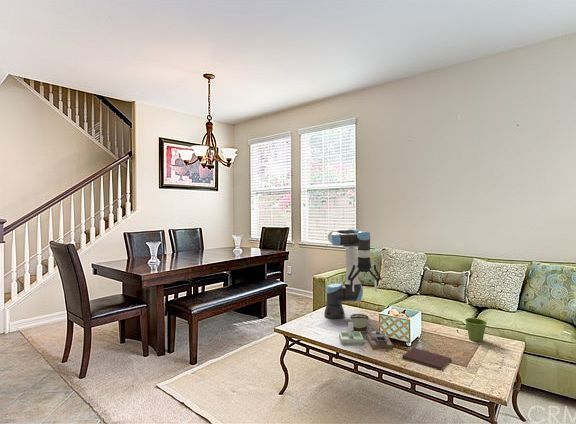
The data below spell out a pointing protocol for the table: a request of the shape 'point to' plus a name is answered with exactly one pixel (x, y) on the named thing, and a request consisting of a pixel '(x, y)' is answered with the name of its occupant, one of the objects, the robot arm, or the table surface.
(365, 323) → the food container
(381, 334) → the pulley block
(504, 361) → the table surface
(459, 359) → the table surface
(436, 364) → the notebook
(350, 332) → the pin
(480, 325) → the plant pot
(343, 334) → the tray
